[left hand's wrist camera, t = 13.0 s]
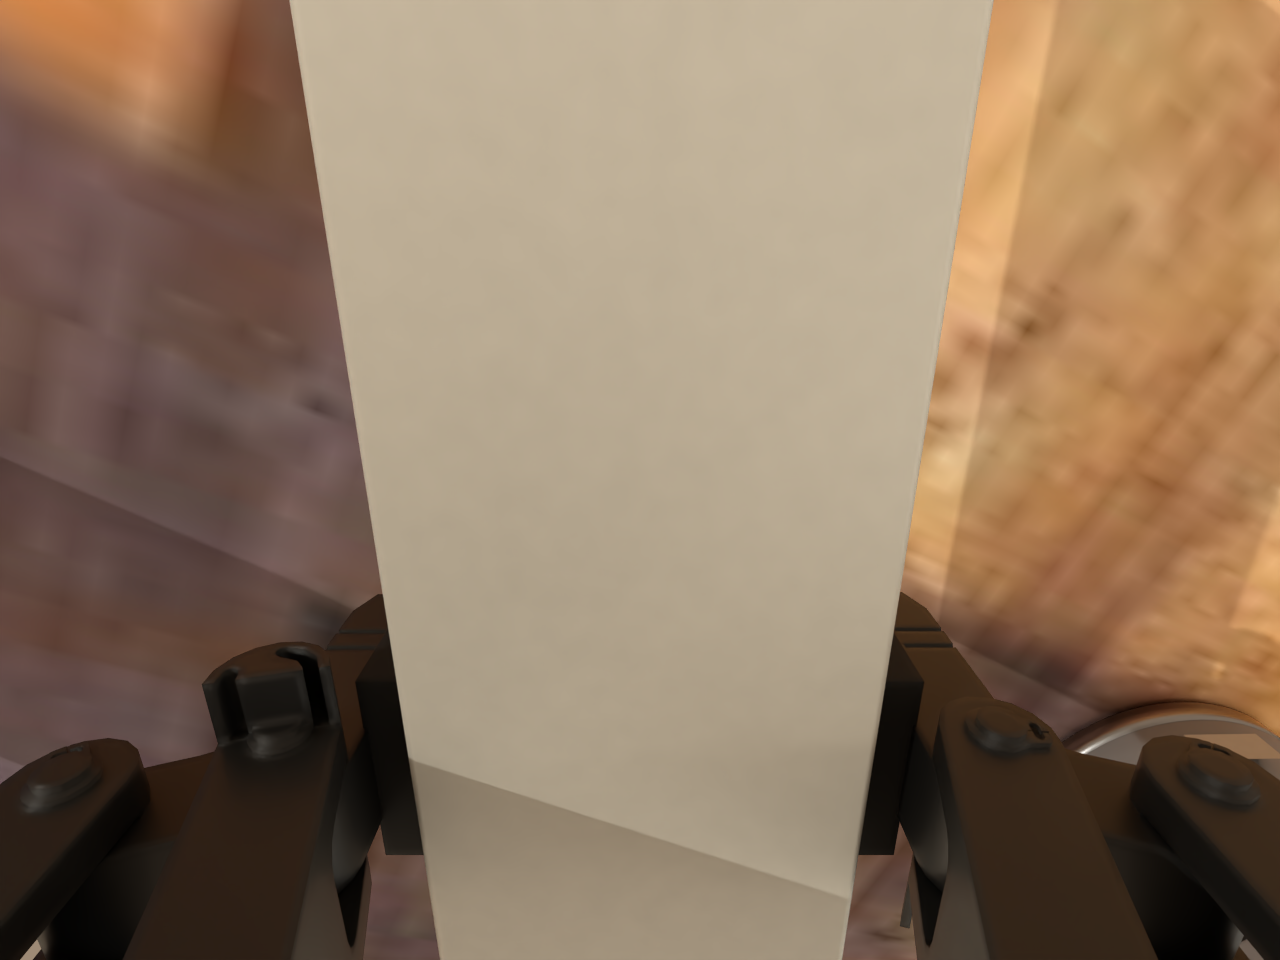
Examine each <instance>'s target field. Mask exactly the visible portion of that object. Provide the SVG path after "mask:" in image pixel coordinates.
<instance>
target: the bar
mask: <svg viewBox="0 0 1280 960" xmlns="http://www.w3.org/2000/svg"><path fill="white" fill-rule="evenodd" d="M993 1H994V0H290V6H291V13H292V19H293V25H294V32H295V38H296V44H297V51H298V57H299V64H300V70H301V76H302V83H303V89H304V95H305V102H306V108H307V115H308V121H309V127H310V134H311V140H312V146H313V153H314V159H315V165H316V172H317V178H318V185H319V191H320V197H321V204H322V210H323V216H324V223H325V229H326V235H327V242H328V248H329V255H330V261H331V267H332V274H333V280H334V286H335V293H336V299H337V306H338V312H339V318H340V325H341V331H342V337H343V344H344V350H345V356H346V363H347V369H348V376H349V382H350V388H351V395H352V401H353V407H354V414H355V420H356V426H357V433H358V439H359V446H360V452H361V458H362V465H363V471H364V477H365V484H366V490H367V496H368V503H369V509H370V516H371V522H372V528H373V535H374V541H375V547H376V554H377V560H378V567H379V573H380V579H381V586H382V592H383V598H384V605H385V611H386V617H387V624H388V630H389V637H390V643H391V649H392V656H393V662H394V668H395V675H396V681H397V687H398V694H399V700H400V707H401V713H402V719H403V726H404V732H405V738H406V745H407V751H408V758H409V764H410V770H411V777H412V783H413V789H414V796H415V802H416V808H417V815H418V821H419V828H420V834H421V840H422V847H423V853H424V859H425V866H426V872H427V878H428V885H429V891H430V898H431V904H432V910H433V917H434V923H435V929H436V936H437V942H438V949H439V955H440V960H842V955H843V949H844V942H845V936H846V930H847V923H848V917H849V911H850V904H851V898H852V892H853V885H854V879H855V873H856V866H857V860H858V854H859V848H860V841H861V835H862V829H863V822H864V816H865V810H866V803H867V797H868V791H869V784H870V778H871V772H872V765H873V759H874V753H875V746H876V740H877V734H878V727H879V721H880V715H881V709H882V702H883V696H884V690H885V683H886V677H887V671H888V664H889V658H890V652H891V645H892V639H893V633H894V626H895V620H896V614H897V607H898V601H899V595H900V588H901V582H902V576H903V569H904V563H905V557H906V551H907V544H908V538H909V532H910V525H911V519H912V513H913V506H914V500H915V494H916V487H917V481H918V475H919V468H920V462H921V456H922V449H923V443H924V437H925V430H926V424H927V418H928V412H929V405H930V399H931V393H932V386H933V380H934V374H935V367H936V361H937V355H938V348H939V342H940V336H941V329H942V323H943V317H944V310H945V304H946V298H947V291H948V285H949V279H950V273H951V266H952V260H953V254H954V247H955V241H956V235H957V228H958V222H959V216H960V209H961V203H962V197H963V190H964V184H965V178H966V171H967V165H968V159H969V152H970V146H971V140H972V133H973V127H974V121H975V115H976V108H977V102H978V96H979V89H980V83H981V77H982V70H983V64H984V58H985V51H986V45H987V39H988V32H989V26H990V20H991V13H992V7H993Z"/></svg>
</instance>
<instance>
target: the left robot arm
mask: <svg viewBox="0 0 1280 960" xmlns="http://www.w3.org/2000/svg"><path fill="white" fill-rule="evenodd" d="M202 687H203V691H204V694H205V698H206V702H207V705H208V709H209V712H210V716H211V720H212V723H213V727H214V731H215V734H216V738H217V741H218V745H217V748H216V750H215V752H211V753H208V754H204V755H201V756H197V757H192V758H188V759H183V760H179V761H174V762H169V763H165V764H160V765H156V766H151V767H147V768H144V767H143V764H142V761H141V758H140V755H139V752H138V749H137V748H135V747H134V746H133V745H132V744H131V743H129V742H128V741H125V740H118V739H111V738H106V739H98V740H91V741H84V742H80V743H77V744H73V745H70V746H68V747H67V746H66V747H63V748H61V749H58V750H55V751H53V752H51V753H49V754H47V755H45V756H43V757H41V758H39V759H37V760H35V761H33V762H31V763H29V764H27V765H26V766H24V767H23V768H22V769H20V770H19V771H18V772H16V773H15V774H13V775H12V776H11V777H9V778H8V779H7V780H5V781H4V782H2V783H1V784H0V960H20V959H21V958H22V957H23V955H24V954H25V953H26V952H27V951H28V949H29V948H30V947H31V946H32V944H33V943H34V942H35V941H36V940H38V942H39V944H40V947H41V950H40V952H39V953H38V954H37V955H36V956H35V958H34V959H33V960H363V954H364V946H365V937H366V928H367V920H368V911H369V902H370V894H371V885H372V882H371V874H370V867H369V862H368V857H367V853H368V851H369V848H370V846H371V844H372V841H373V839H374V837H375V835H376V832H377V830H378V828H379V825H381V830H382V836H383V841H384V847H385V853H386V855H424V853H423V847H422V840H421V834H420V828H419V821H418V815H417V808H416V802H415V796H414V789H413V783H412V777H411V770H410V764H409V758H408V751H407V745H406V738H405V732H404V726H403V719H402V713H401V707H400V700H399V694H398V687H397V681H396V675H395V668H394V662H393V656H392V649H391V643H390V637H389V630H388V624H387V617H386V611H385V605H384V598H383V594H378V595H376V596H375V597H373V598H372V599H370V600H369V601H367V602H366V603H364V604H363V605H361V606H360V607H358V608H357V609H355V610H354V611H353V612H352V613H351V615H350V616H349V617H348V619H347V620H346V621H345V623H344V624H343V625H342V627H341V628H340V630H339V634H336V635H335V636H334V638H333V639H332V640H331V642H330V643H329V644H328V646H327V650H323V649H322V648H321V647H320V646H318V645H314V644H309V643H305V642H281V643H276V644H272V645H267V646H263V647H258V648H255V649H253V650H250V651H248V652H245V653H243V654H241V655H238V656H236V657H233V658H232V659H230V660H229V661H227V662H226V663H224V664H223V665H221V666H220V667H218V668H217V669H215V670H214V671H213V672H212V673H211V674H210V676H209V677H208V678H207V679H206V680H205V681H204V683H203V684H202ZM899 822H900V823H901V825H902V828H903V830H904V832H905V835H906V837H907V839H908V841H909V844H910V846H911V848H912V851H913V857H912V862H911V867H910V872H909V877H908V883H907V888H906V893H905V898H904V903H903V909H902V915H901V923H900V926H902V927H906V928H910V923H911V918H913V927H914V935H915V944H916V953H917V960H1280V738H1279V737H1278V736H1277V735H1276V734H1274V733H1273V732H1272V731H1271V730H1269V729H1268V728H1267V727H1265V726H1264V725H1263V724H1261V723H1260V722H1259V721H1257V720H1255V719H1254V718H1252V717H1250V716H1248V715H1246V714H1244V713H1241V712H1239V711H1237V710H1233V709H1230V708H1227V707H1223V706H1218V705H1213V704H1206V703H1197V702H1175V703H1163V704H1155V705H1149V706H1144V707H1140V708H1135V709H1132V710H1128V711H1125V712H1121V713H1119V714H1116V715H1113V716H1110V717H1108V718H1105V719H1103V720H1101V721H1098V722H1096V723H1094V724H1092V725H1090V726H1088V727H1086V728H1084V729H1082V730H1081V731H1079V732H1077V733H1076V734H1074V735H1072V736H1071V737H1069V738H1068V739H1066V740H1065V741H1063V742H1061V741H1060V740H1059V738H1058V737H1057V735H1056V734H1055V733H1054V731H1053V730H1052V729H1051V727H1049V726H1048V725H1047V724H1045V723H1044V722H1043V721H1042V720H1040V719H1039V718H1038V717H1036V716H1035V715H1034V714H1032V713H1030V712H1028V711H1026V710H1024V709H1022V708H1020V707H1017V706H1015V705H1013V704H1011V703H1008V702H1004V701H1000V700H996V699H994V698H993V697H992V696H991V694H990V693H989V692H988V690H987V689H986V688H985V686H984V685H983V684H982V682H981V681H980V680H979V678H978V677H977V675H976V674H975V673H974V671H973V670H972V669H971V667H970V666H969V665H968V663H967V662H966V661H965V659H964V658H963V657H962V655H961V654H960V653H959V651H958V650H957V649H956V648H953V643H952V642H951V641H950V639H949V638H948V637H947V635H946V634H945V633H944V631H941V627H940V626H939V625H938V623H937V622H936V621H935V619H934V618H933V617H932V615H931V614H930V613H929V611H928V610H927V609H926V608H925V607H923V606H922V605H920V604H919V603H917V602H916V601H914V600H913V599H911V598H910V597H908V596H907V595H905V594H904V593H902V592H900V595H899V601H898V607H897V614H896V620H895V626H894V633H893V639H892V645H891V652H890V658H889V664H888V671H887V677H886V683H885V690H884V696H883V702H882V709H881V715H880V721H879V727H878V734H877V740H876V746H875V753H874V759H873V765H872V772H871V778H870V784H869V791H868V797H867V803H866V810H865V816H864V822H863V829H862V835H861V841H860V848H859V854H858V855H894V850H895V844H896V839H897V833H898V827H899Z"/></svg>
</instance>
